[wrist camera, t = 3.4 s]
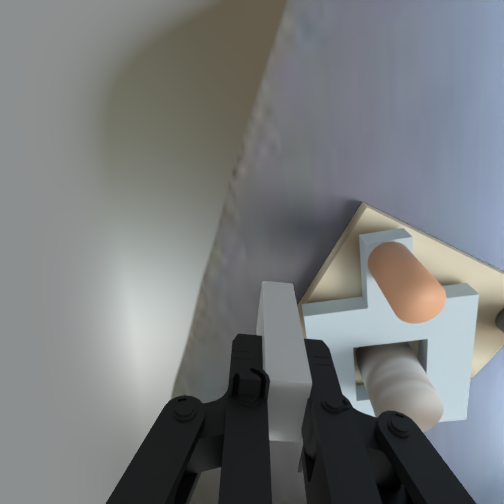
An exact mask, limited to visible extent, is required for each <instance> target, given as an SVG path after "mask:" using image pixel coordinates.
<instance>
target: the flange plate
mask: <svg viewBox="0 0 504 504" xmlns="http://www.w3.org/2000/svg"><path fill="white" fill-rule="evenodd" d="M359 244H360V264H361V284H362V296H361V297H354V298H346V299H338V300H331V301H323V302H315V303H307V304H302V311H303V319H304V326H305V334H306V339H317V340H323V342H324V343H325V344H326V345H327V346H328V347H329V349H330V353H331V356H332V360H333V363H334V367H335V370H336V373H337V377H338V380H339V384H340V387H341V391H342V394H343V395H344V396H345V397H346V398H347V399H348V400H349V401H350V403H351V404H352V406H353V408H355V409H356V410H358V411H360V412H362V413H365V414H368V415H371V416H374V417H375V414H374V411H373V408H372V405H371V402H370V399H369V397H368V394H367V391H366V388H365V385H357V386H356V384H355V369H354V354H353V348H354V347H363V346H371V345H380V344H388V343H397V342H406V341H414V340H419V353H418V361H419V362H420V364H421V366H422V368H423V369H424V371H425V373H426V374H427V376H428V378H429V380H430V381H431V383H432V385H433V387H434V388H435V390H436V392H437V393H438V395H439V397H440V399H441V400H442V402H443V406H444V411H443V415H442V417H441V419H440V420H439V422H444V421H454V420H465V419H466V416H467V406H468V396H469V387H470V377H471V367H472V358H473V348H474V338H475V329H476V319H477V309H478V299H479V294H478V293H477V292H476V291H475V290H474V289H473V288H472V287H471V286H470V285H469V284H468V283H462V284H454V285H446V286H442V285H441V284H440V283H439V282H438V281H437V280H436V279H435V278H434V277H433V276H432V274H431V273H430V272H429V271H428V270H427V269H426V268H425V267H424V266H423V265H422V264H421V262H420V261H419V260H418V259H417V258H416V257H415V256H414V255H413V254H412V249H413V237H412V236H411V235H410V234H409V233H408V232H407V231H406V230H405V229H404V228H401V229H394V230H387V231H380V232H373V233H366V234H359Z"/></svg>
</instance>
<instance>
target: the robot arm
mask: <svg viewBox="0 0 504 504" xmlns="http://www.w3.org/2000/svg"><path fill="white" fill-rule="evenodd" d="M301 434H302V437H303V448H302V453H301V457H300V462H299V467H298V472H301V471H302V467H303V474H304V482H305V491H306V499H307V504H476V503H475V502H474V500H473V499H472V498H471V496H470V495H469V494H468V492H467V491H466V490H465V488H464V487H463V486H462V484H461V483H460V482H459V480H458V479H457V478H456V476H455V475H454V474H453V472H452V471H451V470H450V468H449V467H448V465H447V464H446V463H445V461H444V460H443V459H442V457H441V456H440V455H439V453H438V452H437V451H436V449H435V448H434V447H433V445H432V444H431V443H430V441H429V440H428V439H427V437H426V436H425V435H424V433H423V432H422V431H421V429H420V428H419V427H418V425H417V424H416V423H415V422H414V421H413V420H412V419H411V418H409V417H408V416H406V415H405V414H403V413H400V412H397V411H388V410H387V411H385V412H382V413H381V414H380V415H379V416H378V418H377V417H374V416H371V415H368V414H365V413H362V412H360V411H358V410H356V409H355V408H353V406H352V404H351V403H350V401H349V400H348V399H347V398H346V397H345V396H344V395H343V394H342V391H341V387H340V384H339V380H338V377H337V373H336V370H335V367H334V363H333V360H332V356H331V353H330V349H329V347H328V346H327V345H326V344H325V343H324V342H323V340H317V339H305V338H303V333H302V328H301V323H300V317H299V312H298V307H297V302H296V297H295V292H294V287H293V283H281V282H270V281H262V287H261V295H260V303H259V311H258V319H257V335H248V334H238V335H237V336H236V337H235V339H234V340H233V342H232V353H231V364H230V375H229V386H228V390H227V392H226V393H225V395H223V396H222V397H221V398H220V399H218V400H216V401H213V402H209V403H204V404H203V403H202V402H201V401H200V400H199V399H197V398H195V397H193V396H185V395H184V396H179V397H176V398H174V399H172V400H170V401H169V402H168V403H167V404H166V405H165V406H164V408H163V410H162V411H161V413H160V415H159V416H158V418H157V420H156V421H155V423H154V425H153V426H152V428H151V430H150V431H149V433H148V435H147V436H146V438H145V439H144V441H143V443H142V445H141V446H140V448H139V449H138V451H137V453H136V454H135V456H134V458H133V459H132V461H131V463H130V464H129V466H128V468H127V470H126V471H125V473H124V474H123V476H122V478H121V479H120V481H119V483H118V484H117V486H116V487H115V490H114V491H113V492H112V494H111V496H110V497H109V499H108V501H107V502H106V504H189V502H190V500H191V497H192V495H193V492H194V490H195V487H196V485H197V482H198V480H199V477H200V475H201V472H203V471H207V470H210V469H214V468H218V467H221V477H220V488H219V500H218V504H272V492H271V470H270V447H269V440H274V441H288V442H300V439H301Z"/></svg>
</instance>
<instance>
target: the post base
mask: <svg viewBox="0 0 504 504" xmlns="http://www.w3.org/2000/svg"><path fill="white" fill-rule="evenodd" d="M401 228H404V229H405V230H406V231H407V232H408V233H409V234H410V235H411V236H412V237H413V249H412V254H413V255H414V256H415V257H416V258H417V259H418V260H419V261H420V262H421V264H422V265H423V266H424V267H425V268H426V269H427V270H428V271H429V272H430V273H431V274H432V276H433V277H434V278H435V279H436V280H437V281H438V282H439V283H440V284H441V285H442V286H446V285H454V284H462V283H468V284H469V285H470V286H471V287H472V288H473V289H474V290H475V291H476V292H477V293H478V294H479V299H478V309H477V319H476V329H475V338H474V348H473V358H472V367H471V377H470V380H471V379H472V378H473V377H474V376H475V375H476V374H477V373H478V372H479V371H480V370H481V369H482V368H483V366H484V365H485V364H486V363H487V362H488V361H489V360H490V359H491V358H492V357H493V356H494V355H495V354H496V353H497V352H498V351H499V350H500V349H501V348H502V347H503V346H504V272H503V271H501V270H499V269H497V268H495V267H493V266H491V265H489V264H487V263H485V262H483V261H481V260H479V259H477V258H475V257H473V256H471V255H469V254H467V253H465V252H463V251H461V250H459V249H457V248H455V247H453V246H450V245H448V244H446V243H444V242H442V241H440V240H438V239H436V238H434V237H432V236H430V235H428V234H426V233H424V232H422V231H420V230H418V229H416V228H414V227H412V226H410V225H408V224H406V223H404V222H402V221H400V220H398V219H396V218H394V217H392V216H390V215H388V214H386V213H384V212H382V211H380V210H378V209H376V208H374V207H372V206H370V205H368V204H366V203H364V202H362V203H361V205H360V207H359V208H358V210H357V211H356V213H355V215H354V216H353V218H352V219H351V221H350V222H349V224H348V226H347V227H346V229H345V230H344V232H343V234H342V235H341V237H340V238H339V240H338V242H337V243H336V245H335V246H334V248H333V250H332V251H331V253H330V254H329V256H328V258H327V259H326V261H325V262H324V264H323V266H322V267H321V269H320V270H319V272H318V273H317V275H316V277H315V278H314V280H313V281H312V283H311V285H310V286H309V288H308V289H307V291H306V293H305V294H304V296H303V297H302V299H301V301H300V302H299V304H298V305H297V307H298V312H299V317H300V323H301V328H302V333H303V338H305V339H306V334H305V326H304V319H303V311H302V304H307V303H315V302H323V301H331V300H338V299H346V298H354V297H361V296H362V284H361V264H360V244H359V234H366V233H373V232H380V231H387V230H394V229H401ZM418 353H419V340H414V341H406V342H397V343H388V344H380V345H371V346H363V347H354V348H353V354H354V369H355V384H356V386H357V385H365V388H366V391H367V394H368V397H369V399H370V402H371V405H372V408H373V411H374V414H375V417H377V418H378V416H379V415H380V414H381V413H382V412H385V411H387V410H388V411H397V412H400V413H403V414H405V415H406V416H408V417H409V418H411V419H412V420H413V421H414V422H415V423H416V424H417V425H418V427H419V428H420V429H421V431H422V432H425V431H427V430H429V429H431V428H432V427H434V426H435V425H436V424H437V423H438V422H439V420H440V419H441V417H442V415H443V411H444V406H443V402H442V400H441V399H440V397H439V395H438V393H437V392H436V390H435V388H434V387H433V385H432V383H431V381H430V380H429V378H428V376H427V374H426V373H425V371H424V369H423V368H422V366H421V364H420V362H419V361H418Z"/></svg>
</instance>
